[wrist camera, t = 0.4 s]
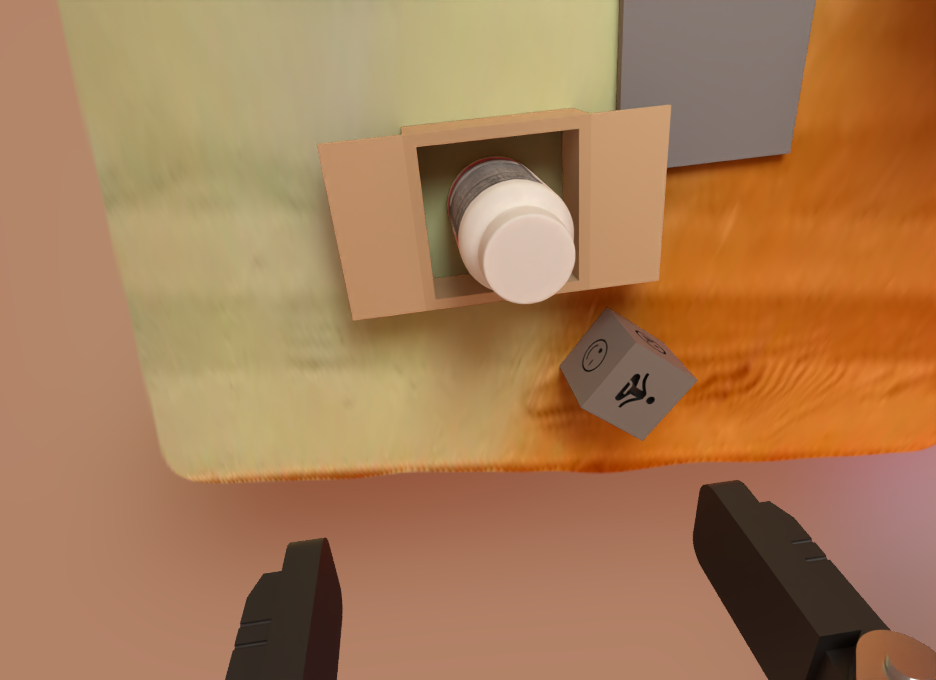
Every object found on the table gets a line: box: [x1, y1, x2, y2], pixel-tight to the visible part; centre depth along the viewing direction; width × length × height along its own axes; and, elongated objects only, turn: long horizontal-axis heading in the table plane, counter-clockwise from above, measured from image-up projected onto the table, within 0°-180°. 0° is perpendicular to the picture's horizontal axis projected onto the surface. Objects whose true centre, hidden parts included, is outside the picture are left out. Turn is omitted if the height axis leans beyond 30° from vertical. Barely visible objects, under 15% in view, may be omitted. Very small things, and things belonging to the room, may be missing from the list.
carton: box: [317, 105, 671, 321], centre depth 31 cm, size 9×17×3 cm, turn 95°
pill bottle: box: [447, 156, 575, 304], centre depth 28 cm, size 5×5×10 cm
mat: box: [616, 0, 816, 168], centre depth 30 cm, size 10×10×1 cm
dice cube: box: [560, 307, 698, 441], centre depth 35 cm, size 5×5×5 cm
